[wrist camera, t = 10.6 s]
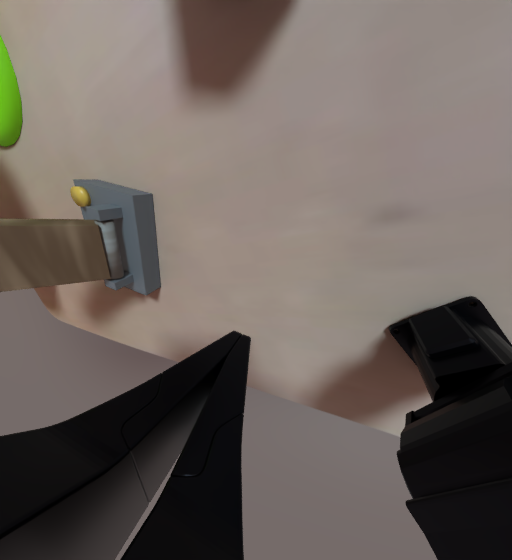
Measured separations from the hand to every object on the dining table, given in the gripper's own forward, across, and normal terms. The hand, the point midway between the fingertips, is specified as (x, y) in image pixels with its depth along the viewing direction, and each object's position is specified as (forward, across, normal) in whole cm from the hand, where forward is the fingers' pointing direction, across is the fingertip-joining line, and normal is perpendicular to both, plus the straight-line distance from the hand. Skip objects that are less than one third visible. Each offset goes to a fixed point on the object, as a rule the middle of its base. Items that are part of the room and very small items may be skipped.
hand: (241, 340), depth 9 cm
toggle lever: (+8, +19, +4) cm, 21 cm away
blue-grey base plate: (+12, +20, +4) cm, 24 cm away
